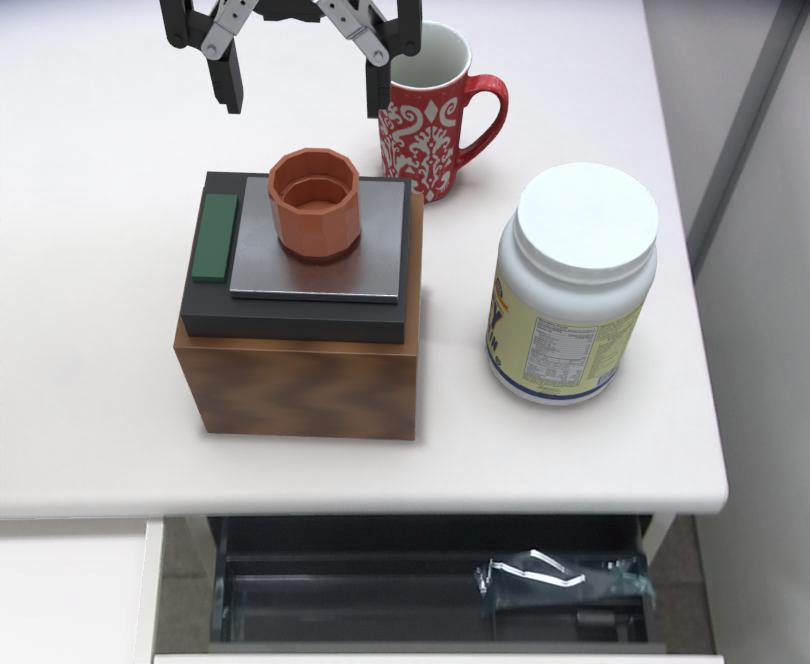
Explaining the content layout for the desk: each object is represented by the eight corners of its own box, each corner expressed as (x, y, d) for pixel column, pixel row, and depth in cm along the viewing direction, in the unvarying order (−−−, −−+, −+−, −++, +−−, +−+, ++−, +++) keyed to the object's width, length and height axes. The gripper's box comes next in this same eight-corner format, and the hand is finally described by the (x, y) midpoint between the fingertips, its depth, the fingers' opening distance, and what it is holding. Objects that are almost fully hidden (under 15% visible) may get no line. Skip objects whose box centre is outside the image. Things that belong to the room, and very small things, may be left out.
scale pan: (230, 298, 60) (228, 290, 59) (248, 184, 64) (247, 176, 64) (398, 303, 60) (398, 296, 59) (404, 189, 64) (404, 181, 64)
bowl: (272, 260, 60) (263, 212, 56) (281, 196, 63) (273, 146, 59) (358, 263, 60) (355, 215, 56) (363, 199, 63) (361, 149, 59)
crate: (207, 433, 72) (172, 347, 61) (230, 287, 79) (202, 186, 68) (414, 440, 72) (417, 356, 61) (421, 294, 79) (424, 193, 68)
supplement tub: (493, 292, 79) (515, 141, 63) (623, 312, 78) (678, 163, 62) (474, 400, 74) (493, 264, 58) (612, 422, 73) (668, 290, 58)
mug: (364, 203, 83) (358, 79, 71) (384, 139, 87) (382, 11, 75) (488, 224, 82) (504, 103, 70) (504, 159, 86) (522, 32, 74)
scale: (188, 336, 62) (177, 309, 59) (213, 195, 68) (205, 164, 65) (404, 344, 62) (404, 316, 59) (411, 202, 67) (411, 171, 65)
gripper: (431, -255, 39) (421, 71, 53) (123, -264, 39) (199, 62, 53) (425, -163, 35) (417, 155, 50) (91, -174, 36) (181, 146, 50)
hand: (304, 107), depth 52 cm, fingers open, 8 cm apart
